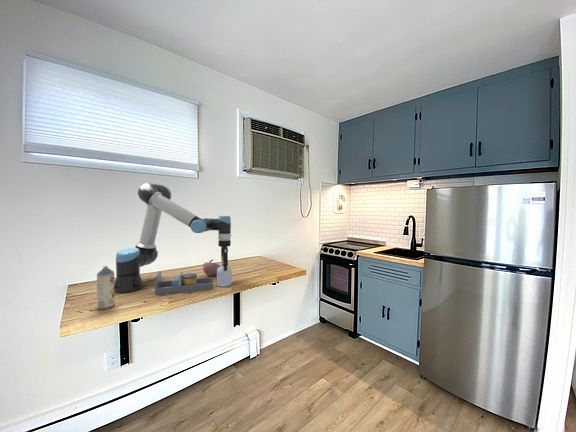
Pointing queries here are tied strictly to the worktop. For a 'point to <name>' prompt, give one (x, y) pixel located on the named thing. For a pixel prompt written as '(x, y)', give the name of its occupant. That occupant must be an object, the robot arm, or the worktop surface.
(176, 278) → the pusher
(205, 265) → the pink pumpkin
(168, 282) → the grey slotted block
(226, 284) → the soap bottle
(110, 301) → the aerosol can
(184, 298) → the worktop surface
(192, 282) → the amber jar
